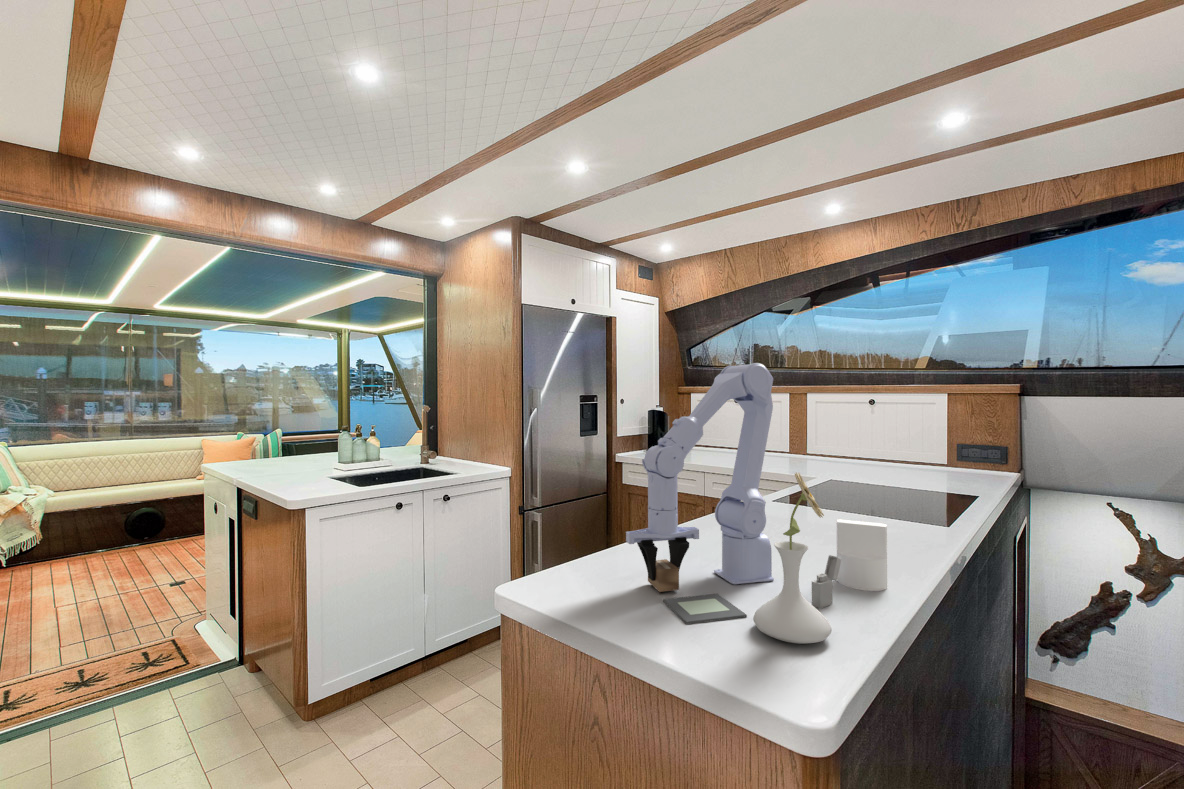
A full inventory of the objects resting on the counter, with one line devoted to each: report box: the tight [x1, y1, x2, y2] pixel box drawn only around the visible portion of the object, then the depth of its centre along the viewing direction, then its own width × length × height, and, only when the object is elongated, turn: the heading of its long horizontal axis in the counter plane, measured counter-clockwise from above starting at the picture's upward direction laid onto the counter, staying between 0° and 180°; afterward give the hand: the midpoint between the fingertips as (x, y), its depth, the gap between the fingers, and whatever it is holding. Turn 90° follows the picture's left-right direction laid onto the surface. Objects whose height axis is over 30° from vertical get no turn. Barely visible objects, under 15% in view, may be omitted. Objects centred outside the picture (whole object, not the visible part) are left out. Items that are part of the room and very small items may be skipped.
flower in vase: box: [752, 471, 832, 645], centre depth 81 cm, size 13×11×25 cm
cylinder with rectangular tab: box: [836, 518, 888, 592], centre depth 104 cm, size 9×9×12 cm
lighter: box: [811, 554, 841, 610], centre depth 93 cm, size 7×2×8 cm, turn 126°
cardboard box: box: [647, 558, 680, 593], centre depth 100 cm, size 4×6×4 cm, turn 15°
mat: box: [662, 593, 748, 625], centre depth 90 cm, size 11×10×1 cm
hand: (663, 577), depth 100 cm, fingers closed on cardboard box, 4 cm apart
